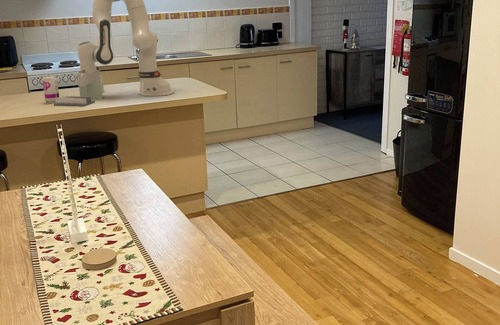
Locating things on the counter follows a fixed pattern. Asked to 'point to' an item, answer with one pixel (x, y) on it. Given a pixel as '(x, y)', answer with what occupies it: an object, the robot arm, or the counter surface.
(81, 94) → the door panel
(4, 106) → the counter surface
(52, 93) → the supplement can
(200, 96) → the counter surface
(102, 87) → the small box
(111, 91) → the counter surface
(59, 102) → the bottom track
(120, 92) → the counter surface
